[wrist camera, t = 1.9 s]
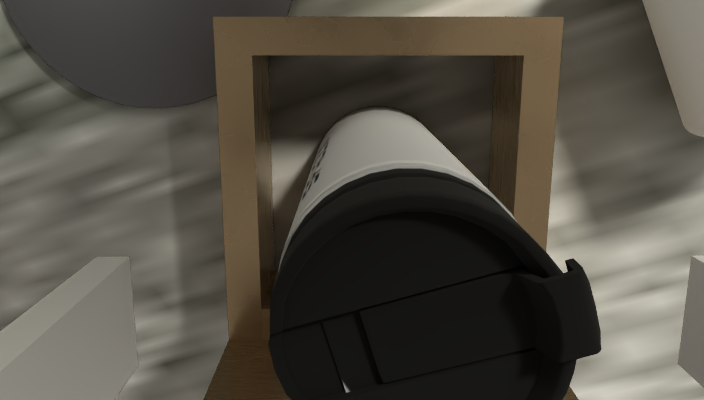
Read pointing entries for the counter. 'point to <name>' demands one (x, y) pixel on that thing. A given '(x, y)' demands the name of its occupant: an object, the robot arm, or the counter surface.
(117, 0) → the mat
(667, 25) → the mug
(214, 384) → the brown wooden open box
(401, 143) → the travel mug
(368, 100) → the counter surface
